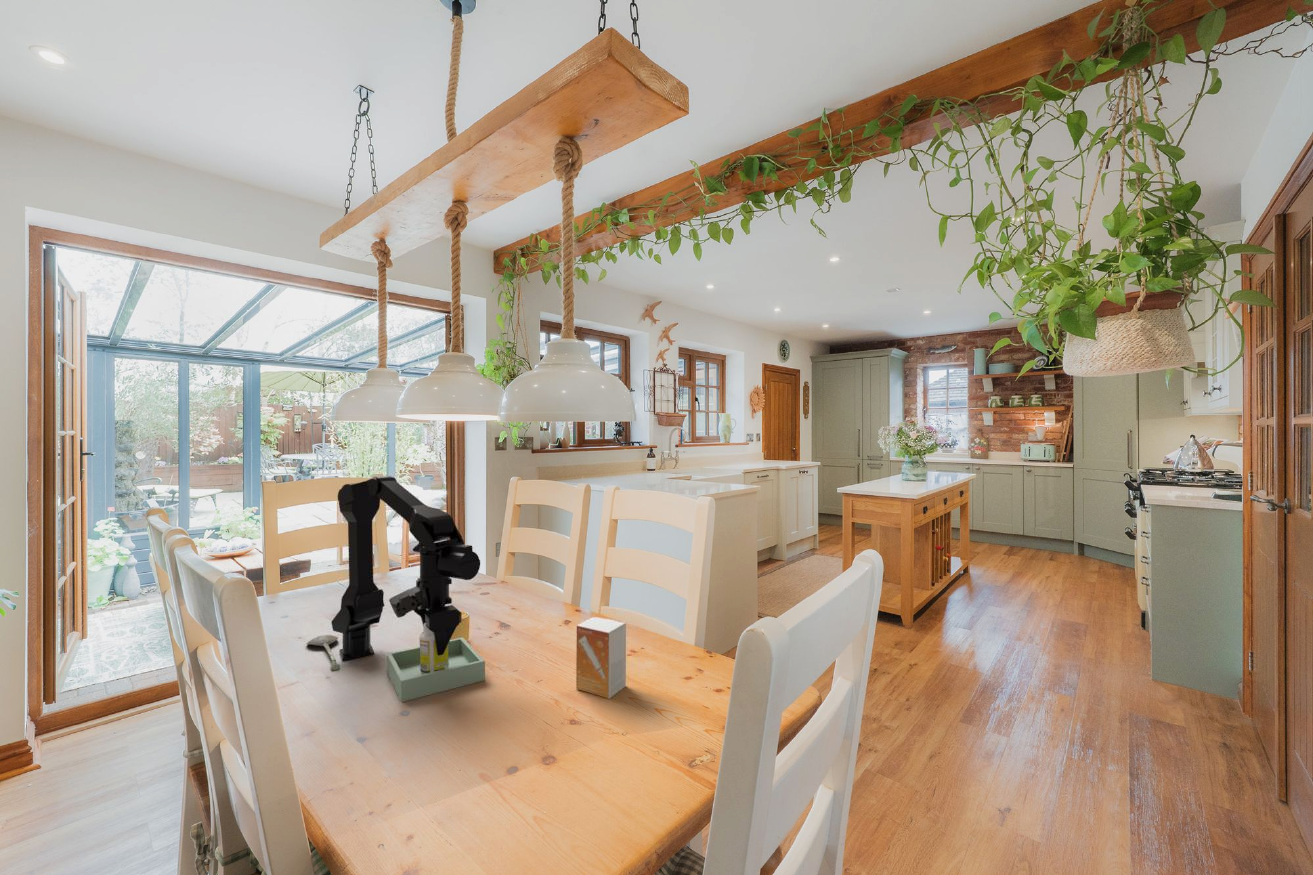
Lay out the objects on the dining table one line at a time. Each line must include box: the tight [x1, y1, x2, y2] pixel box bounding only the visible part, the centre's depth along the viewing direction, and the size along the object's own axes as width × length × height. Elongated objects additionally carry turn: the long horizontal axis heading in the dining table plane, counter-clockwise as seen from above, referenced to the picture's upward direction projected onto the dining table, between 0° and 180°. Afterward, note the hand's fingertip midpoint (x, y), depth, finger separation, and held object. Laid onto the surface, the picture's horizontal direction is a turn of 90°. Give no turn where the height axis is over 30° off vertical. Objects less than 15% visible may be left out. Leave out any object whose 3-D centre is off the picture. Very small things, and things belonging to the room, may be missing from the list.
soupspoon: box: [306, 634, 341, 671], centre depth 127 cm, size 22×3×7 cm
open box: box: [386, 637, 486, 703], centre depth 115 cm, size 16×16×4 cm
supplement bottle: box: [419, 623, 449, 674], centre depth 115 cm, size 6×6×10 cm
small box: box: [575, 616, 627, 700], centre depth 110 cm, size 8×6×13 cm
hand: (434, 647), depth 115 cm, fingers open, 9 cm apart
